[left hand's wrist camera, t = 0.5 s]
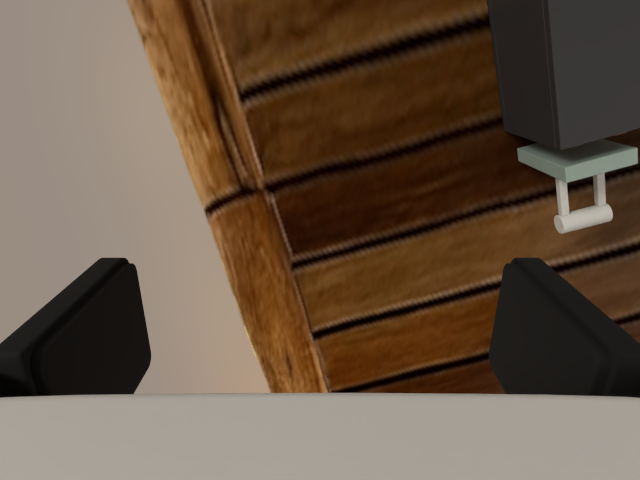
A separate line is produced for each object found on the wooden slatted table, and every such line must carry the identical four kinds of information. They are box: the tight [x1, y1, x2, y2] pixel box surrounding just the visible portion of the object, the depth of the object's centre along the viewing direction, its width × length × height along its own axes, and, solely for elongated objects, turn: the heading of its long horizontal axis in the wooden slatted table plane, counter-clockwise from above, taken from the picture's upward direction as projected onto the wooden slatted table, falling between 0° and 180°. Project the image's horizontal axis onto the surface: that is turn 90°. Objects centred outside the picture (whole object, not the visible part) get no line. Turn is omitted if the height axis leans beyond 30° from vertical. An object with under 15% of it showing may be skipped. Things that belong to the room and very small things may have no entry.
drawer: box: [517, 132, 638, 234], centre depth 32 cm, size 25×5×8 cm, turn 16°
